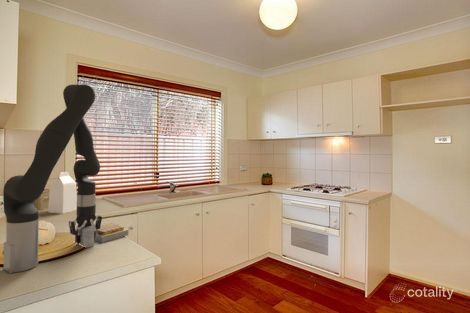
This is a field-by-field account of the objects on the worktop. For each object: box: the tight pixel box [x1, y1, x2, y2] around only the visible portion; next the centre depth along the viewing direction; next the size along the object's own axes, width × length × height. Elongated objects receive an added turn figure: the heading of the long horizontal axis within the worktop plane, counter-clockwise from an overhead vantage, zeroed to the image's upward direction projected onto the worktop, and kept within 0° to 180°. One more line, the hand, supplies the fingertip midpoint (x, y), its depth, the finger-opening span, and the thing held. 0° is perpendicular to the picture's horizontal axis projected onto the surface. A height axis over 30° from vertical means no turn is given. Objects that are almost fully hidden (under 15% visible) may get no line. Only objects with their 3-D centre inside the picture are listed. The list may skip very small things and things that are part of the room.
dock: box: [94, 228, 130, 243], centre depth 134 cm, size 14×14×3 cm
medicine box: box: [80, 226, 95, 249], centre depth 121 cm, size 8×4×9 cm, turn 48°
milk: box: [47, 171, 78, 215], centre depth 179 cm, size 12×12×26 cm
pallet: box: [96, 222, 125, 236], centre depth 134 cm, size 11×11×2 cm
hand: (85, 241), depth 121 cm, fingers open, 5 cm apart
